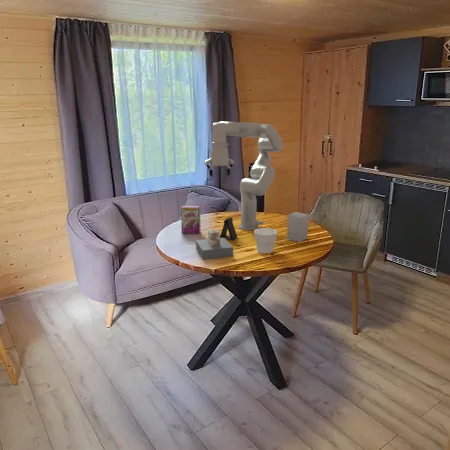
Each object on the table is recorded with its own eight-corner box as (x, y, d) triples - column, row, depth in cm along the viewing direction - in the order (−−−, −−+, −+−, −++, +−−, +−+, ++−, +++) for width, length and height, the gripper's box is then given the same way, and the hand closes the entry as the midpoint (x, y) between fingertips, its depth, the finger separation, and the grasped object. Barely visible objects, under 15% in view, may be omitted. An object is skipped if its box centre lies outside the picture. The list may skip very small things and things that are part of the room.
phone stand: (237, 237, 241) (237, 218, 237) (233, 240, 236) (233, 220, 232) (223, 235, 244) (223, 216, 241) (219, 238, 239) (219, 218, 236)
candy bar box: (181, 233, 248) (180, 207, 243) (183, 231, 253) (182, 205, 248) (199, 234, 247) (199, 207, 242) (200, 231, 252) (200, 205, 247)
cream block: (217, 241, 219) (217, 229, 216) (219, 244, 214) (219, 232, 212) (208, 242, 217) (208, 230, 215) (210, 245, 213) (210, 233, 211)
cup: (270, 256, 211) (271, 236, 208) (249, 252, 218) (249, 232, 214) (280, 249, 221) (281, 230, 218) (260, 245, 228) (260, 226, 224)
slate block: (224, 246, 226) (224, 237, 225) (232, 256, 212) (232, 247, 210) (196, 249, 222) (196, 240, 221) (202, 259, 208) (202, 250, 206)
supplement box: (308, 239, 238) (309, 214, 234) (299, 242, 232) (300, 217, 227) (294, 235, 244) (296, 211, 240) (286, 239, 238) (287, 214, 233)
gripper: (232, 144, 233) (232, 174, 238) (202, 145, 228) (203, 175, 233) (236, 145, 226) (236, 176, 231) (205, 146, 221) (206, 177, 226)
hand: (219, 175), depth 232 cm, fingers open, 9 cm apart
